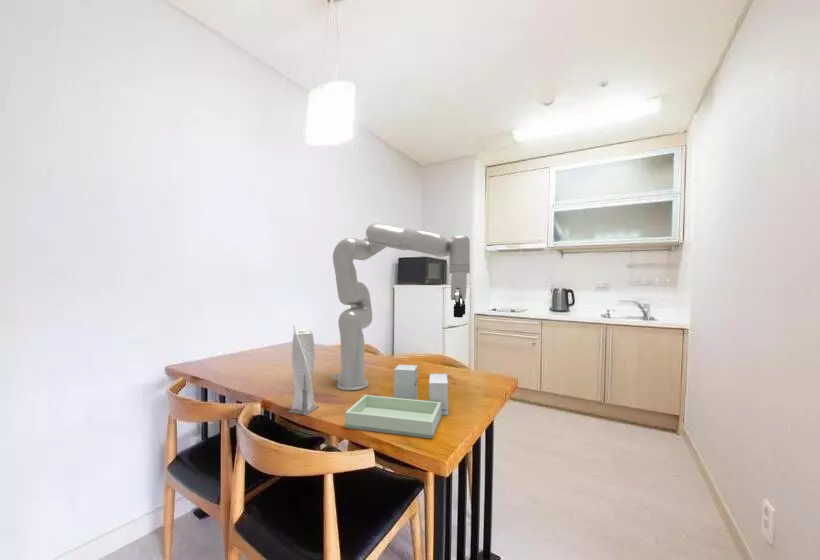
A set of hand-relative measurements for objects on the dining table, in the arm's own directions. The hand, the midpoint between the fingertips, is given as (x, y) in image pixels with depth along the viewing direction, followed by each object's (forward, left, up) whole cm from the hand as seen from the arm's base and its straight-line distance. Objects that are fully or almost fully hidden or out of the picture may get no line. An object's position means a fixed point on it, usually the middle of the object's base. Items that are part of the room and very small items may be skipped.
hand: (459, 315), depth 121 cm
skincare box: (-6, -13, -30) cm, 33 cm away
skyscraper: (-50, -25, -30) cm, 63 cm away
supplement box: (-18, -11, -30) cm, 37 cm away
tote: (-17, -26, -30) cm, 43 cm away
